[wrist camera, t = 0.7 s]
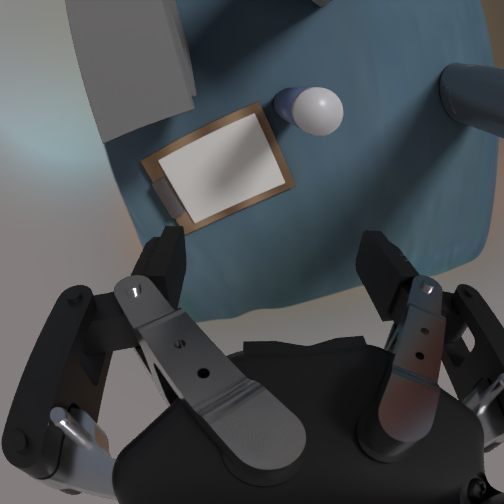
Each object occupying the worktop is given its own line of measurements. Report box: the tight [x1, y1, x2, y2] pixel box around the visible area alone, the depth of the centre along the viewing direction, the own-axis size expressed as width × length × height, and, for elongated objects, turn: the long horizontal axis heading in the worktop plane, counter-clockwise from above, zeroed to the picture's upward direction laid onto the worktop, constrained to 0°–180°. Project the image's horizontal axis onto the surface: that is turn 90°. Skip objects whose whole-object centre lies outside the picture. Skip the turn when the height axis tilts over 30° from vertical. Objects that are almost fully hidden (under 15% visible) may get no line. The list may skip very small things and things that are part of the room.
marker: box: [273, 87, 343, 136], centre depth 24 cm, size 4×4×12 cm
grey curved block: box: [65, 0, 197, 143], centre depth 18 cm, size 25×8×11 cm, turn 14°
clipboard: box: [141, 102, 295, 235], centre depth 32 cm, size 15×11×2 cm
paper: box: [158, 113, 285, 223], centre depth 32 cm, size 12×9×1 cm
